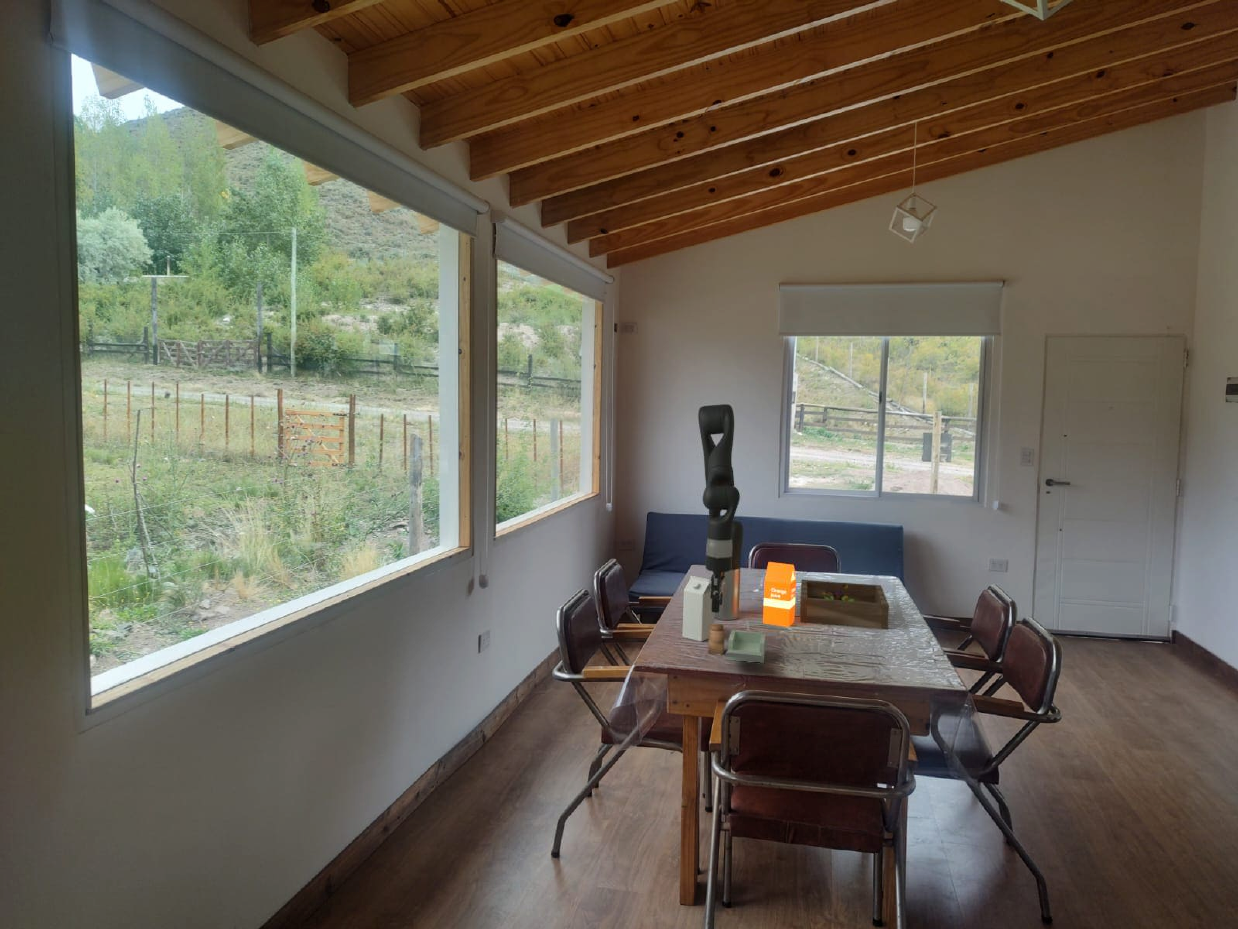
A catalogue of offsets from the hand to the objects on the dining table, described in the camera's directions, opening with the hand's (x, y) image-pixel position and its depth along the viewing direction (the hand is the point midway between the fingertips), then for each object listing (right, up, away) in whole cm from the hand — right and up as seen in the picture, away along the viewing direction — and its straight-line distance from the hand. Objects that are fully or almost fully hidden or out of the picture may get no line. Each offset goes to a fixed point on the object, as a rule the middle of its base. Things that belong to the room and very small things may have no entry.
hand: (716, 608), depth 235 cm
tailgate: (+7, -11, -7) cm, 15 cm away
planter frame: (+49, -10, +44) cm, 67 cm away
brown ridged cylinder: (0, -13, +1) cm, 13 cm away
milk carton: (-4, -12, +16) cm, 20 cm away
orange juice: (+25, -11, +34) cm, 43 cm away
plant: (+48, -11, +44) cm, 66 cm away
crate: (+8, -14, -2) cm, 16 cm away
